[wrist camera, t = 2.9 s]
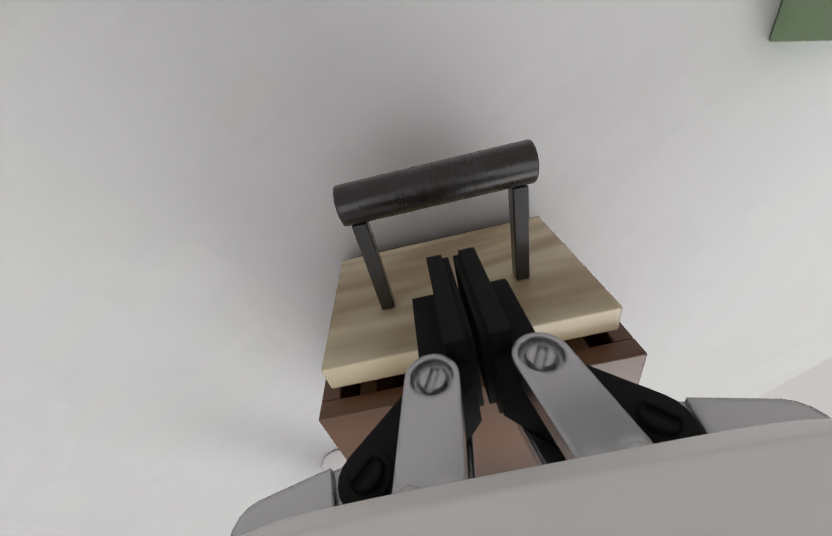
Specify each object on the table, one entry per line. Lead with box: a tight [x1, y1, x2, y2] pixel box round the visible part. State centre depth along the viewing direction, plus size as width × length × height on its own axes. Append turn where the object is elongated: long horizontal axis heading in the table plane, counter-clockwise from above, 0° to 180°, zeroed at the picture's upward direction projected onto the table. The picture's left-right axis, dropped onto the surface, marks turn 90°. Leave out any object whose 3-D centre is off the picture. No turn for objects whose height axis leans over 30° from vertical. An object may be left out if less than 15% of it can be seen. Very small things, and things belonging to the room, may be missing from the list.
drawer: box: [321, 139, 622, 395], centre depth 17 cm, size 19×11×8 cm, turn 12°
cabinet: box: [319, 322, 647, 477], centre depth 20 cm, size 15×13×10 cm
